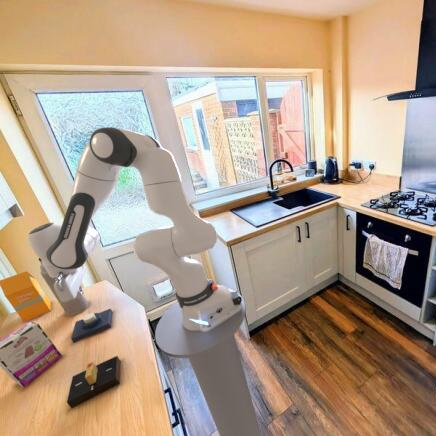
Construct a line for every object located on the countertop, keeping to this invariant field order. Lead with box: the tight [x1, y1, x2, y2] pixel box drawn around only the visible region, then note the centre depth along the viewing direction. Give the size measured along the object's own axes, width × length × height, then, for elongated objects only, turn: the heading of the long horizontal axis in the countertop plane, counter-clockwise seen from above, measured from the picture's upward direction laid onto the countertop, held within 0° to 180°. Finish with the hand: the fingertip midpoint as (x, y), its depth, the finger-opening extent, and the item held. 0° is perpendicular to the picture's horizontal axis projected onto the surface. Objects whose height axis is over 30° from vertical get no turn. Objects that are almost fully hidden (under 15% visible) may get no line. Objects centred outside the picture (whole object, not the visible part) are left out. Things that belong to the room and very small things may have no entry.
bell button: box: [82, 312, 96, 323], centre depth 97 cm, size 4×4×2 cm
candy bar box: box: [0, 320, 63, 388], centre depth 80 cm, size 11×5×16 cm, turn 161°
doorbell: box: [70, 308, 113, 344], centre depth 98 cm, size 12×10×4 cm
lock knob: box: [85, 361, 98, 385], centre depth 74 cm, size 5×1×4 cm, turn 31°
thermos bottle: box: [38, 257, 89, 317], centre depth 104 cm, size 8×8×28 cm
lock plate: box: [66, 355, 122, 409], centre depth 76 cm, size 12×9×3 cm
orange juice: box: [0, 270, 52, 323], centre depth 106 cm, size 8×9×20 cm
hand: (80, 295), depth 94 cm, fingers closed
